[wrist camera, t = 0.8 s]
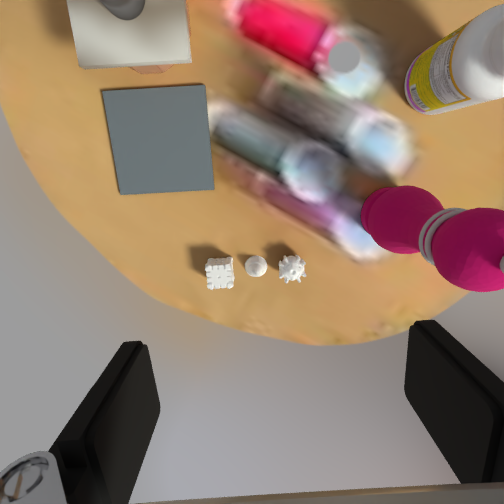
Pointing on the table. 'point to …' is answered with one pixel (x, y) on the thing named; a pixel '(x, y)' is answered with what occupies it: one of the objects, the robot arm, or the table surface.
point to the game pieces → (250, 270)
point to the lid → (129, 32)
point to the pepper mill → (439, 235)
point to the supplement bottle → (460, 67)
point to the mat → (160, 139)
